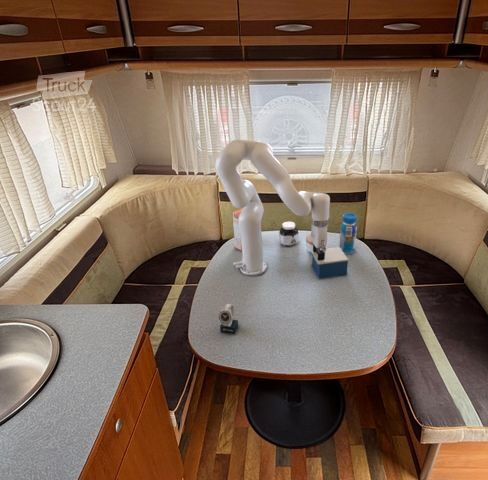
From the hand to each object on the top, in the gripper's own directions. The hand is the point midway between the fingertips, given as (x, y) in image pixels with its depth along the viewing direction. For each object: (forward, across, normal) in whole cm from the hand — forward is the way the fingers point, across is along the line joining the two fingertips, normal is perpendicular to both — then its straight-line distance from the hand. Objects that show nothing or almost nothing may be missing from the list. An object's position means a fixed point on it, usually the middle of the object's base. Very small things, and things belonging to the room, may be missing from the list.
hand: (318, 255), depth 165 cm
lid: (+1, 0, +5) cm, 5 cm away
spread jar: (+9, -31, -6) cm, 33 cm away
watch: (+9, +29, -44) cm, 54 cm away
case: (+9, 0, +6) cm, 11 cm away
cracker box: (+9, -33, -29) cm, 45 cm away
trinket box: (+9, -18, +5) cm, 21 cm away
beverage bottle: (+9, -15, +21) cm, 27 cm away
